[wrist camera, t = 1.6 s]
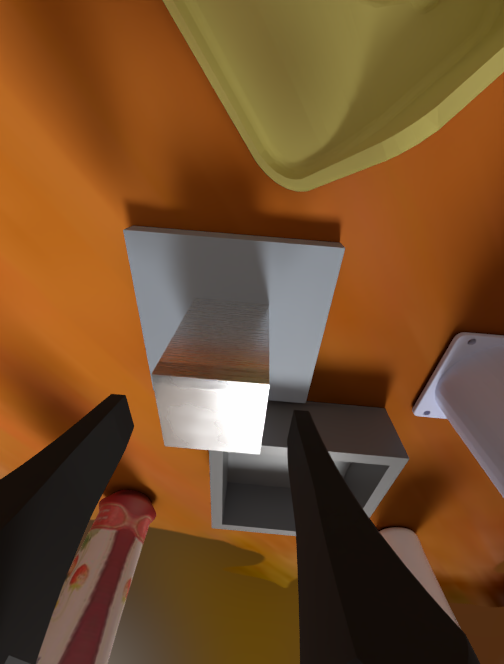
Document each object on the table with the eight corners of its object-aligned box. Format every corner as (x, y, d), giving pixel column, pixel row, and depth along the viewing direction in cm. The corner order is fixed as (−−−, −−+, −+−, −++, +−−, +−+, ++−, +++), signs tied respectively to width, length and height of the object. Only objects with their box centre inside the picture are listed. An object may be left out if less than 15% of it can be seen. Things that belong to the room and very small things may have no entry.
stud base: (339, 242, 15) (372, 276, 10) (303, 392, 21) (313, 454, 17) (132, 225, 15) (72, 251, 10) (158, 379, 22) (128, 437, 17)
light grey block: (269, 304, 16) (269, 384, 10) (262, 362, 18) (259, 454, 13) (194, 298, 16) (151, 374, 10) (198, 356, 18) (164, 446, 13)
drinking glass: (360, 541, 36) (409, 745, 23) (377, 519, 32) (446, 747, 20) (408, 546, 36) (485, 753, 23) (431, 525, 32) (536, 756, 20)
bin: (384, 408, 22) (409, 458, 18) (342, 492, 29) (353, 541, 26) (219, 393, 22) (208, 440, 18) (219, 481, 30) (211, 528, 26)
